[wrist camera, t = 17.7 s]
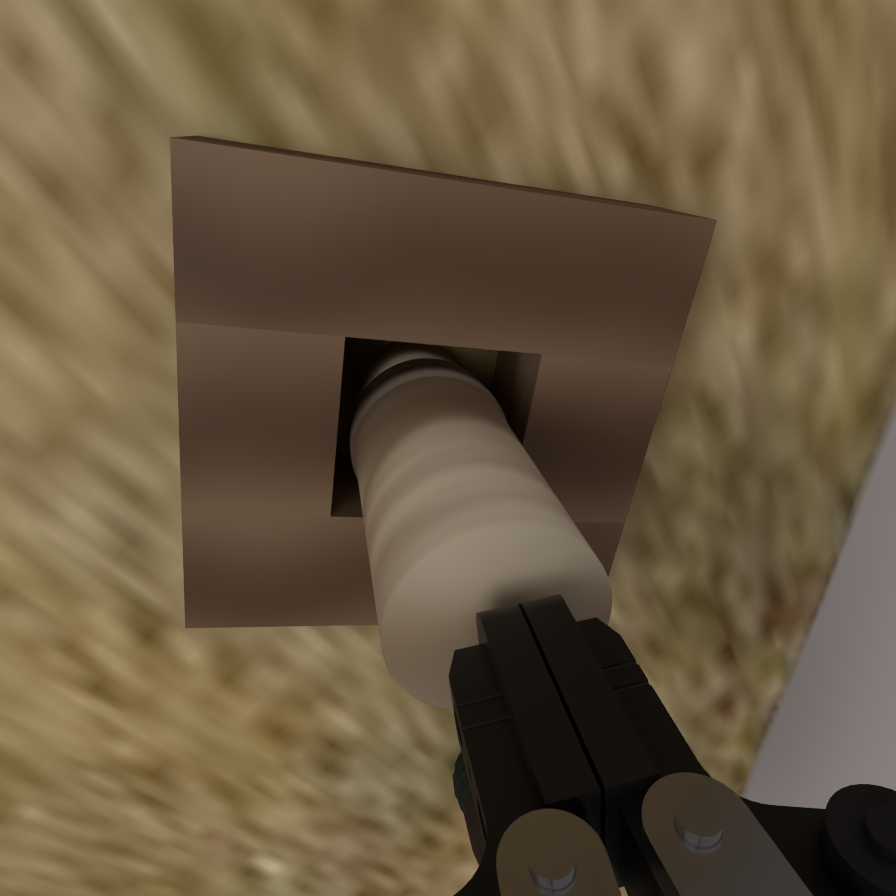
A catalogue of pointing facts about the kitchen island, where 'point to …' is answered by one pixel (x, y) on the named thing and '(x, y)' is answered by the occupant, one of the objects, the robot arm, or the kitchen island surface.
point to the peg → (454, 515)
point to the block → (404, 320)
